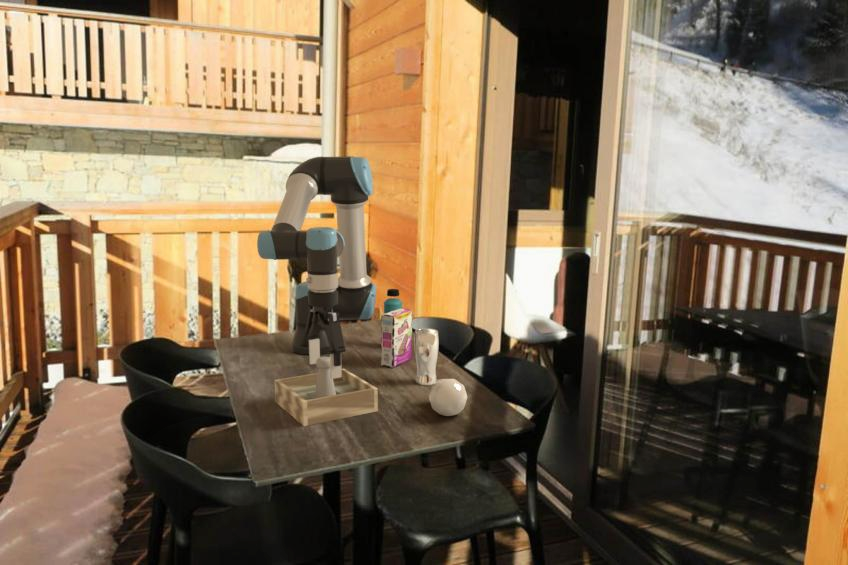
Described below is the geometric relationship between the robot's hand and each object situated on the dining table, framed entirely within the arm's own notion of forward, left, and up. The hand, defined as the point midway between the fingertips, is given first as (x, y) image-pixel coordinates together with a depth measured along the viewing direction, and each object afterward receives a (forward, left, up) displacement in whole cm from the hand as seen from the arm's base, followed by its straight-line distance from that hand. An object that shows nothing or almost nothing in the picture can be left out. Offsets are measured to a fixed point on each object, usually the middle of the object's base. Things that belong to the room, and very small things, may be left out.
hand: (325, 370), depth 183 cm
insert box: (0, 0, -10) cm, 10 cm away
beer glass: (-4, +33, -10) cm, 34 cm away
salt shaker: (0, 0, -10) cm, 10 cm away
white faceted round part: (+19, +25, -10) cm, 33 cm away
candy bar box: (-25, +35, -10) cm, 44 cm away
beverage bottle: (-42, +43, -10) cm, 61 cm away
